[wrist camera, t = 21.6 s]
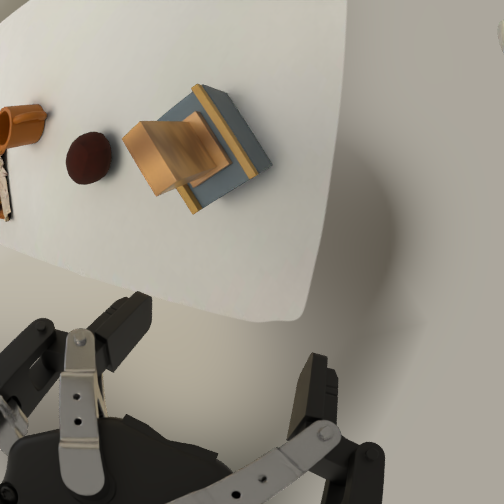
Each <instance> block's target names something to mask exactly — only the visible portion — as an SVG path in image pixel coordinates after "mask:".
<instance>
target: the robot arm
mask: <svg viewBox="0 0 504 504" xmlns="http://www.w3.org/2000/svg"><path fill="white" fill-rule="evenodd" d="M151 322H152V297H151V296H149V295H146V294H144V293H141V292H139V291H137V292H135V293H134V294H133V295H132V296H131V297H130V298H128V297H124V298H121V299H119V300H117V301H116V302H114V303H113V304H112V305H111V306H110V308H108V309H107V310H106V311H105V312H104V313H103V314H102V315H101V316H99V317H98V318H97V319H96V320H95V321H94V322H93V323H92V324H91V325H90V326H89V327H88V328H87V329H83V328H79V329H75V330H73V331H71V332H70V333H68V332H64V331H60V330H56V329H55V327H54V324H53V322H52V321H51V320H49V319H46V318H40V319H37V320H35V321H33V322H32V323H31V324H30V325H29V326H28V327H27V328H26V329H25V330H24V331H22V332H21V333H20V334H19V335H18V336H17V337H16V339H14V340H13V341H12V342H11V343H10V344H9V345H8V346H7V347H6V348H5V349H4V350H3V351H2V352H1V353H0V449H1V450H2V451H3V452H4V453H5V454H6V455H7V456H8V464H7V470H6V474H5V477H4V480H3V481H2V483H1V484H0V504H263V503H264V502H266V501H267V500H269V499H271V498H272V497H273V496H275V495H276V494H278V493H279V492H280V491H282V490H283V489H285V488H286V487H287V486H289V485H290V484H291V483H293V482H294V481H295V480H297V479H298V478H299V477H300V476H302V475H303V474H304V473H306V472H307V471H310V472H312V473H314V474H316V475H319V476H321V477H323V478H325V479H326V482H325V486H324V491H323V496H322V500H321V504H382V495H383V484H384V468H385V454H384V451H383V449H382V448H381V447H380V446H379V445H378V444H376V443H373V442H365V443H362V444H361V445H358V444H356V443H354V442H352V441H350V440H348V439H346V438H345V437H343V436H342V435H341V432H340V430H339V428H338V427H337V422H336V421H337V403H338V397H337V395H338V377H337V375H336V372H335V370H334V369H330V368H327V359H328V358H327V356H323V355H320V354H316V353H311V354H310V356H309V358H308V360H307V362H306V364H305V366H304V368H303V370H302V372H301V374H300V377H299V379H298V383H297V387H296V393H295V398H294V404H293V409H292V415H291V420H290V425H289V430H288V435H287V439H286V440H287V441H288V442H287V443H285V444H284V445H282V446H281V447H279V448H278V447H276V448H274V449H272V450H270V451H269V452H267V453H266V454H264V455H263V456H261V457H259V458H258V459H256V460H255V461H253V462H251V463H250V464H248V465H246V466H244V467H243V468H241V469H239V470H238V471H236V472H234V473H233V472H232V471H231V470H230V469H229V468H228V467H227V466H226V465H225V464H224V463H222V462H221V461H219V460H218V459H216V458H217V456H218V453H215V452H213V451H209V450H207V449H204V448H201V447H199V446H196V445H192V444H186V443H180V442H174V441H170V440H167V439H165V438H164V437H163V436H161V435H160V434H159V433H158V432H156V431H155V430H154V429H152V428H151V427H150V426H149V425H147V424H145V423H143V422H141V421H139V420H137V419H135V418H133V417H131V416H129V415H127V414H126V415H125V417H124V418H123V419H122V418H117V417H108V414H107V410H106V404H105V394H104V383H103V372H104V371H105V369H108V370H109V371H111V372H114V371H115V370H116V369H117V367H118V366H119V365H120V364H121V362H122V361H123V360H124V359H125V358H126V357H127V355H128V354H129V353H130V352H131V350H132V349H133V348H134V346H136V344H137V343H138V342H139V341H140V340H141V338H142V337H143V336H144V334H146V332H147V331H148V330H149V328H150V325H151ZM39 357H40V358H39ZM38 358H39V359H38ZM37 359H38V360H37ZM36 360H37V361H36ZM35 361H36V362H35ZM34 362H35V363H34ZM33 364H34V365H33ZM32 365H33V366H32ZM31 366H32V367H31ZM30 367H31V368H30ZM59 377H60V385H59V424H60V429H56V430H52V431H47V432H43V433H38V434H33V435H28V436H25V435H26V434H27V428H28V419H27V418H28V417H29V415H30V414H31V413H32V411H33V410H34V409H35V407H36V406H37V405H38V403H39V402H40V401H41V400H42V398H43V397H44V396H45V394H46V393H47V392H48V391H49V389H50V388H51V387H52V386H53V384H54V383H55V382H56V381H57V379H58V378H59Z"/></svg>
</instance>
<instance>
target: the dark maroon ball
mask: <svg viewBox="0 0 504 504" xmlns="http://www.w3.org/2000/svg"><path fill="white" fill-rule="evenodd" d="M111 159H112V156H111V147H110V144H109V141H108V140H107V139H106V137H105V136H104V135H103V134H102V133H98V132H89V133H86V134H83V135H81V136H79V137H78V138H77V139H76V140H75V141H74V142H73V143H72V144H71V146H70V148H69V151H68V153H67V157H66V167H67V171H68V174H69V176H70V177H71V179H72V180H73V181H74V182H76V183H78V184H84V185H86V184H90V183H94V182H96V181H99V180H100V179H101V178H103V177H104V176H105V175H106V174H107V172H108V170H109V168H110V164H111Z"/></svg>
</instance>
